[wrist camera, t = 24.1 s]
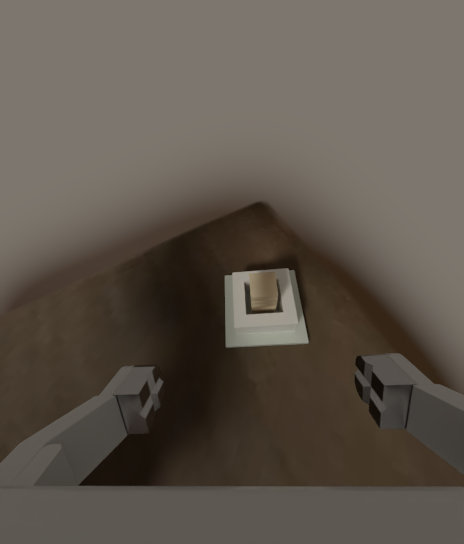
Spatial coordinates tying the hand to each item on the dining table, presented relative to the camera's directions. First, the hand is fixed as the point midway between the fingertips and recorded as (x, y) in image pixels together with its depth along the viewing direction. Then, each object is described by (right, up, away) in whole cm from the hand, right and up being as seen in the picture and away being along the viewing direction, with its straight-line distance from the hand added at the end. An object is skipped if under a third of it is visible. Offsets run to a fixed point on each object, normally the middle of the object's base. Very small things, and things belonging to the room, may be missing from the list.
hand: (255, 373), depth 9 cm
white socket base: (+5, -3, +32) cm, 32 cm away
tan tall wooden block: (+5, -2, +31) cm, 31 cm away
